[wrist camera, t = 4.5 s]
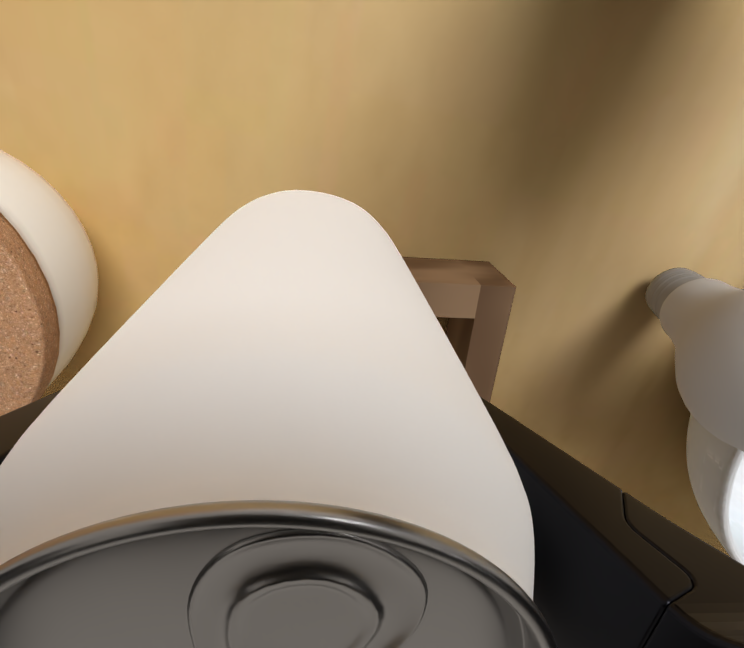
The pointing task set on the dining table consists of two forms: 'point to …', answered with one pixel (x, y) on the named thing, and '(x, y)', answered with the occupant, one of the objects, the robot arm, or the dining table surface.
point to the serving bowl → (718, 486)
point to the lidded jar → (39, 284)
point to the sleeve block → (469, 311)
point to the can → (271, 463)
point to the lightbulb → (705, 347)
